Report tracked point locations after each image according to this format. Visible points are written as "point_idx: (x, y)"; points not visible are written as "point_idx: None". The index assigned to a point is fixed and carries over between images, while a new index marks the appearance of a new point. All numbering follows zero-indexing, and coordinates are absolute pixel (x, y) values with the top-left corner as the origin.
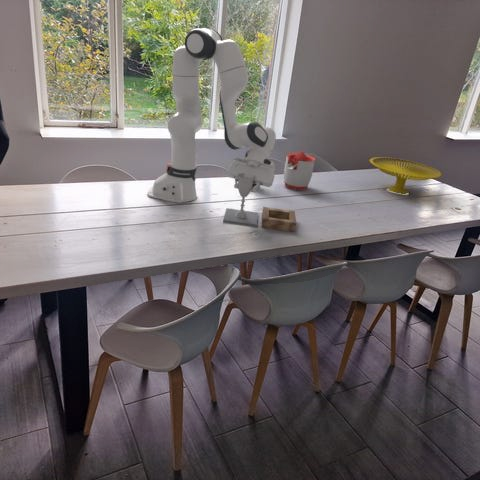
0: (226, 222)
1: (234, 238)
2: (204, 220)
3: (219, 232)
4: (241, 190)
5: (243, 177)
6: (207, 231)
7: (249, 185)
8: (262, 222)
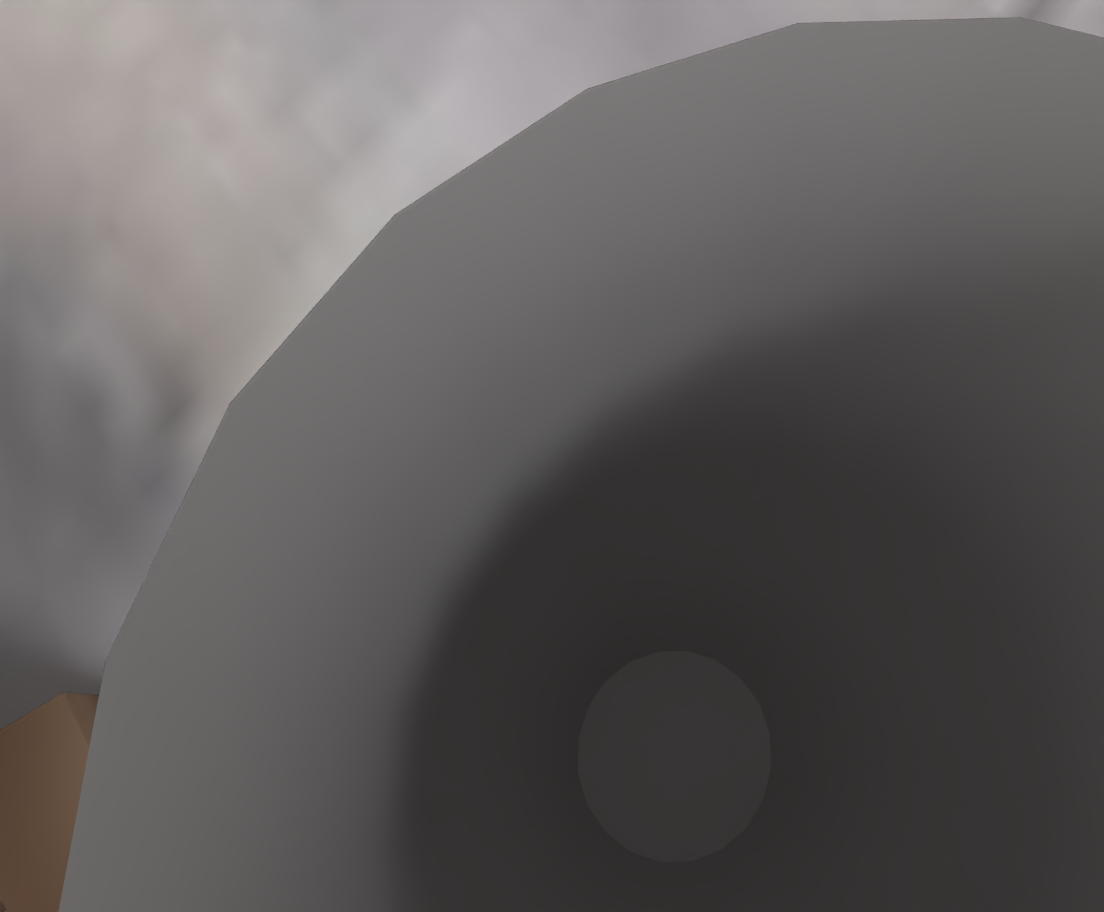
0: None
1: (249, 101)
2: None
3: (488, 94)
4: (671, 499)
5: (701, 57)
6: (604, 14)
7: (410, 645)
8: (95, 700)
